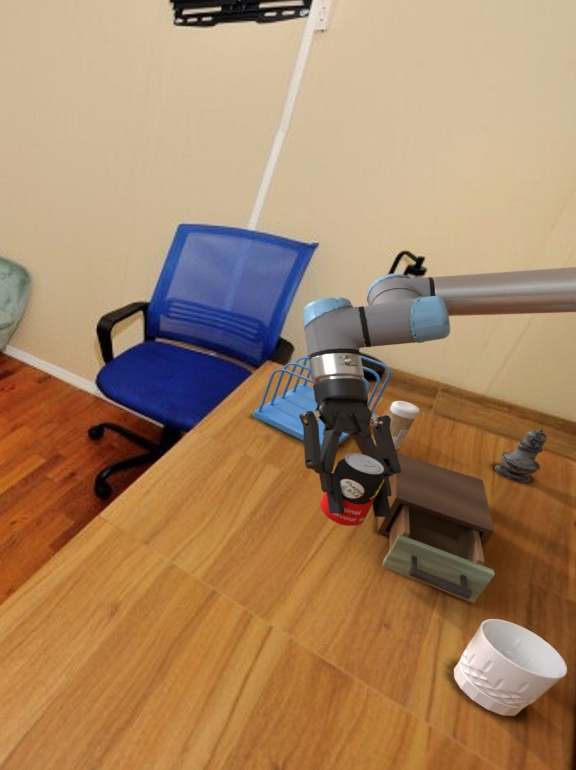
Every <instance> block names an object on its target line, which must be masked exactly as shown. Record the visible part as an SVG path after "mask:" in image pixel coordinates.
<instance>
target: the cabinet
mask: <svg viewBox="0 0 576 770" xmlns="http://www.w3.org/2000/svg"><path fill="white" fill-rule="evenodd" d="M397 457H398V460H399V464H400V467H401V472H400V473H396V474H393V476H390V477H389V481H390V488H391V492H392V494H391V496H388V501H389V506H390V512H391V517H377V531H376V532H377V533H379V534H382V535H384V536H386V537H389V538H390V521H391V519H392V517H393V516H394V514H395V512H396V510H397V508H398V507H399V505H400V503H401V504H404V505H407V506H410V507H413V508H416V509H419V510H421V511H424V512H427V513H430V514H433V515H436V516H439V517H441V518H444V519H447V520H450V521H453V522H456V523H459V524H461V525H464V526H467V527H470V528H473V529H476V530H479V534H480V539H481V545H482V550H483V549H484V547H485V545H486V544H487V543H488V541H489V540H490V539H491V537H492V536H493V534H494V533H495V529H494V525H493V520H492V516H491V511H490V507H489V502H488V501H489V500H488V498H487V494H486V493H487V492H486V487H485V484H484V480H483V479H481V478H478V477H475V476H472V475H469V474H466V473H462V472H458V471H455V470H452V469H449V468H445V467H442V466H439V465H436V464H433V463H429V462H426V461H423V460H419V459H416V458H413V457H410V456H406V455H403V454H400V453H397Z"/></svg>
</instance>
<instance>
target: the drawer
mask: <svg viewBox="0 0 576 770" xmlns="http://www.w3.org/2000/svg"><path fill="white" fill-rule="evenodd" d="M388 548H389V550H388V551H387V553H386V555H385V556H384V558H383V560H382V567H384V568H386V569H389V570H391V571H393V572H395V573H397V574H398V573H399V574H401V575H404V576H406V577H408V578H411V579H413V580H415V581H418V582H420V583H423V584H425V585H427V586H430V587H433V588H435V589H438V590H440V591H443V592H445V593H448V594H449V595H452V596H454V597H457V598H459V599H462V600H464V601H467V602H469V603H471V604H475V603H476V601H477V600H478V599H479V597H480V596H481V594H482V593H483V592H484V591H485V589H486V587H488V585H489V583H491V581H492V580H493V578H494V577H495V576H496V574H495V570H494V569H493V568H491V567H487V566H484V564H485V556H484V552H483V551H484V550H483V549H482V545H481V539H480V534H479V530H476V529H473V528H470V527H467V526H464V525H461V524H459V523H456V522H453V521H450V520H447V519H444V518H441V517H439V516H436V515H433V514H430V513H427V512H424V511H421V510H419V509H416V508H413V507H410V506H407V505H404V504H401V503H400V505H399V507H398V508H397V510H396V512H395V514H394V516H393V517H392V519H391V521H390V537H389V547H388Z"/></svg>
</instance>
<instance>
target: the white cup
mask: <svg viewBox="0 0 576 770" xmlns="http://www.w3.org/2000/svg"><path fill="white" fill-rule="evenodd" d="M567 673H568V666H567V663H566V661H565V660H564V658H563V657H562V655H561V654H560V653H559V652H558V651H557V650H556V649H555V647H554V646H552V645H551V644H550V643H549V642H547V641H546V640H545V639H543V638H542V637H541V636H539V635H538V634H536V633H534V632H533V631H531V630H529V629H527V628H525V627H523V626H522V625H519V624H517V623H513V622H511V621H509V620H504V619H499V618H488V619H485V620H483V621H482V622H481V623H480V625H479V627H478V628H477V630H476V632H475V633H474V634H473V636H472V637H471V639H470V641H469V642H468V644H467V646H466V647H465V649H464V651H463V653H462V654H461V657H460V659H459V661H458V662H457V664H456V665H455V667H454V668H453V679H454V680H455V682H456V684H457V685H458V687H459V688H460V690H461V691H462V692H463V693H464V694H465V695H466V696H467V697H469V698H470V699H471V701H473V702H474V703H476V704H477V705H479V706H481V707H482V708H484V709H486V710H487V711H488V712H489V711H490V712H493V713H494V714H498V715H501V716H505V717H507V716H508V717H509V716H510V717H516V715H518V714H519V713H520V712H522V710H523V709H525V708H526V707H528V706H530V705H532V704H533V703H534V702H535V701H537V700H538V699H540V697H542V696H543V695H545V694H546V693H547V692H548V691H549V690H550V689H551V688H552V687H553V686H554V685H556V684H557V683H558V682H559V681H561V680H562V679H563V678H564V677H565V676H566V675H567Z"/></svg>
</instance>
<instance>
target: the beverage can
mask: <svg viewBox="0 0 576 770" xmlns="http://www.w3.org/2000/svg"><path fill="white" fill-rule="evenodd" d="M383 471H384V468H383V466H382V465H381V464H380V463H379V462H378V461H376V460H375V459H373V458H371V457H369V456H366V455H362V453H356V452H355V453H354V452H352V453H351V452H350V453H347V454H346V455H345V457H343V458H341V459H340V460H338V462H337V464H336V466H335V468H334V469H333V471H332V473H338V474H339V479H340V486H341V492H342V498H343V505H344V511H345V514H344V513H330V512H329V505H328V498H327V492H323V493H324V494H323V495H322V498H321V500H320V502H319V506H320V509H321V511H322V513H323V514H324V515H325V516H326V517H327V518H328V519H329V520H331V521H332V522H334V523H336V524H338V525H340V526H341V525H342V526H347V527H356V526H359V525H361V524H363V523H364V522H365V520H366V518H367V516H368V514H369V512H370V510H371V508H372V507H373V502H374V500H375V498H376V496H377V494H378V492H379V490H380V488H381V486H382V484H383V482H384V475H383Z"/></svg>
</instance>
